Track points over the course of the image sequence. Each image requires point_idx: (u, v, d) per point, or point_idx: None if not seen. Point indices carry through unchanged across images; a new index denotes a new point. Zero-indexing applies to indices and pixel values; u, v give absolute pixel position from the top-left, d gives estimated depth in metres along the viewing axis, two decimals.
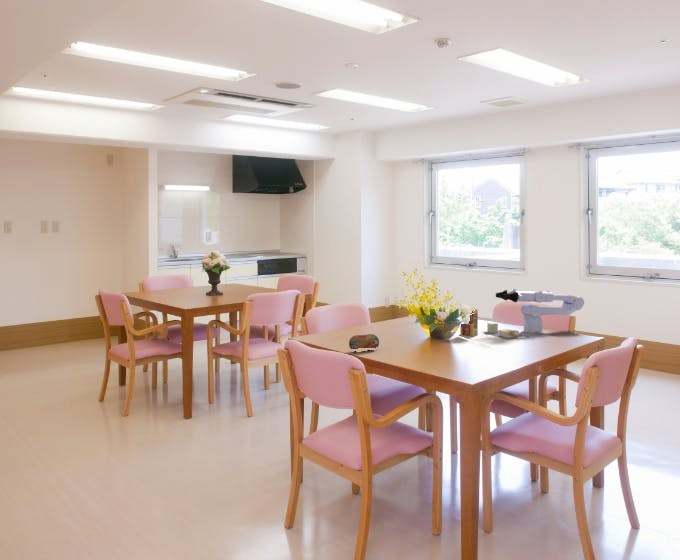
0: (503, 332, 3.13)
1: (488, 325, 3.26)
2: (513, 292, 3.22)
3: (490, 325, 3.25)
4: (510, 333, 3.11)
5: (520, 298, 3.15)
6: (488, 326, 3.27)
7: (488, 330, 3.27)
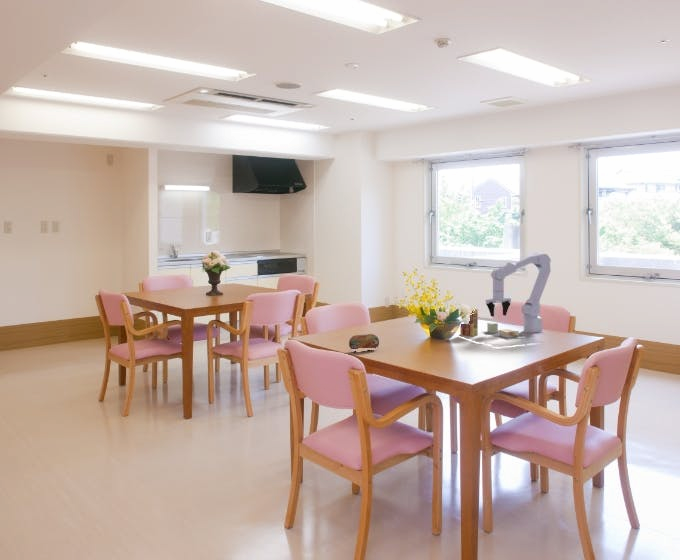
0: (503, 332, 3.13)
1: (488, 325, 3.26)
2: None
3: (490, 325, 3.25)
4: (510, 333, 3.11)
5: (487, 302, 3.20)
6: (488, 326, 3.27)
7: (488, 330, 3.27)
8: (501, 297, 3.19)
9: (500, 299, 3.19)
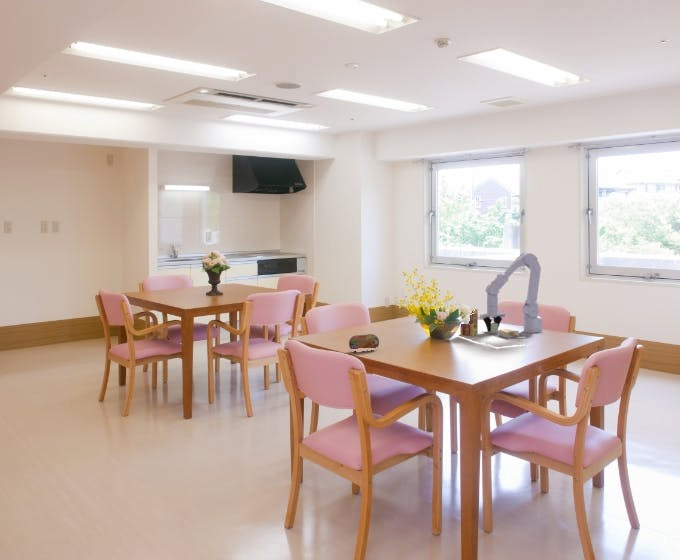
0: (503, 332, 3.13)
1: None
2: None
3: None
4: (510, 333, 3.11)
5: (481, 317, 3.23)
6: None
7: None
8: (495, 312, 3.23)
9: (494, 314, 3.23)
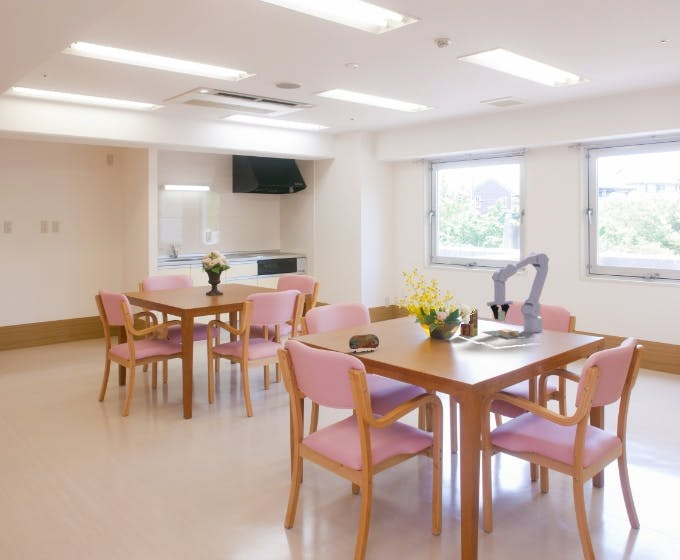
0: (503, 332, 3.13)
1: None
2: None
3: None
4: (510, 333, 3.11)
5: (488, 305, 3.17)
6: None
7: None
8: (502, 300, 3.17)
9: (501, 302, 3.17)
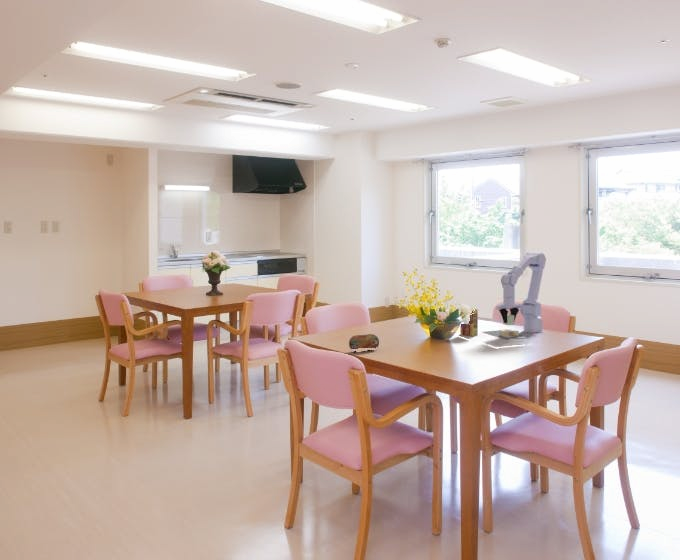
0: (503, 332, 3.13)
1: None
2: None
3: None
4: (510, 333, 3.11)
5: (497, 308, 3.11)
6: None
7: None
8: (512, 303, 3.11)
9: (511, 305, 3.10)
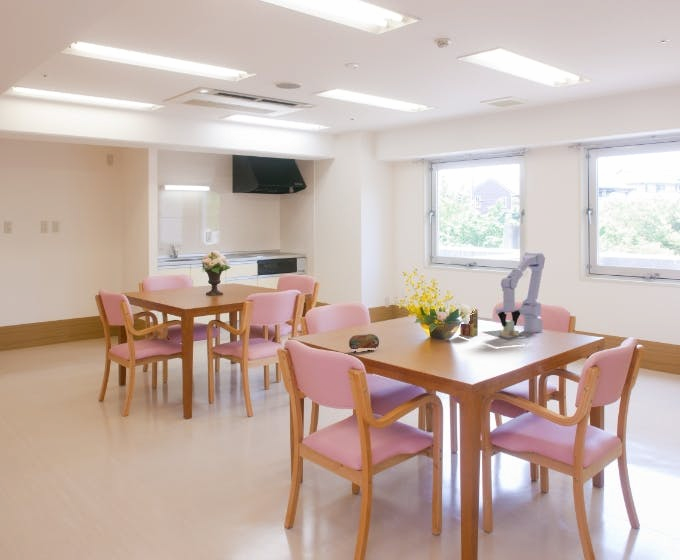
0: (503, 332, 3.13)
1: None
2: None
3: (506, 323, 3.13)
4: (510, 333, 3.11)
5: (497, 312, 3.11)
6: None
7: (504, 328, 3.15)
8: (512, 307, 3.11)
9: (511, 309, 3.11)
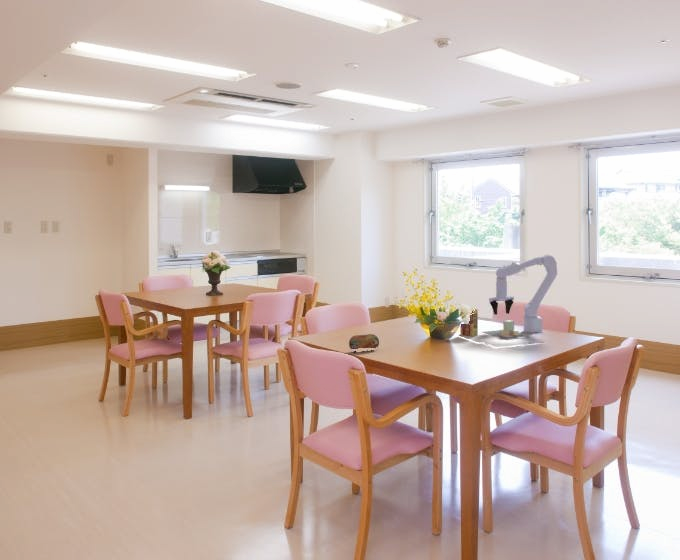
0: (503, 332, 3.13)
1: (504, 323, 3.15)
2: None
3: (506, 323, 3.13)
4: (510, 333, 3.11)
5: (490, 300, 3.26)
6: (504, 324, 3.15)
7: (504, 328, 3.15)
8: (504, 295, 3.26)
9: (503, 297, 3.26)
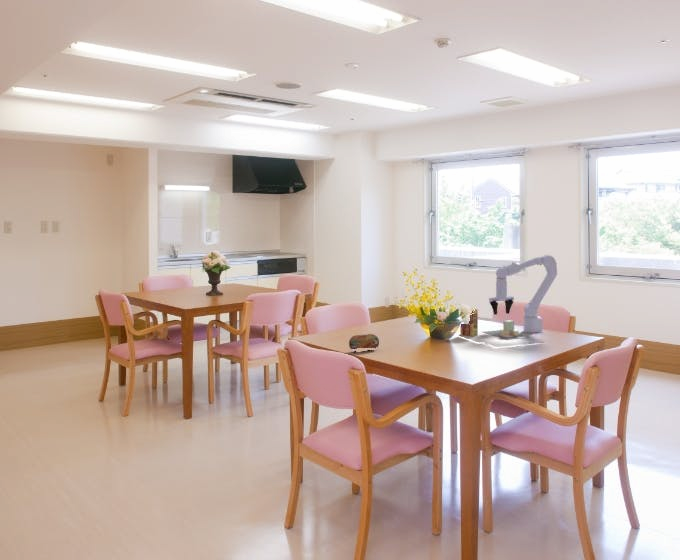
0: (503, 332, 3.13)
1: (504, 323, 3.15)
2: None
3: (506, 323, 3.13)
4: (510, 333, 3.11)
5: (490, 300, 3.26)
6: (504, 324, 3.15)
7: (504, 328, 3.15)
8: (504, 295, 3.26)
9: (503, 297, 3.26)
